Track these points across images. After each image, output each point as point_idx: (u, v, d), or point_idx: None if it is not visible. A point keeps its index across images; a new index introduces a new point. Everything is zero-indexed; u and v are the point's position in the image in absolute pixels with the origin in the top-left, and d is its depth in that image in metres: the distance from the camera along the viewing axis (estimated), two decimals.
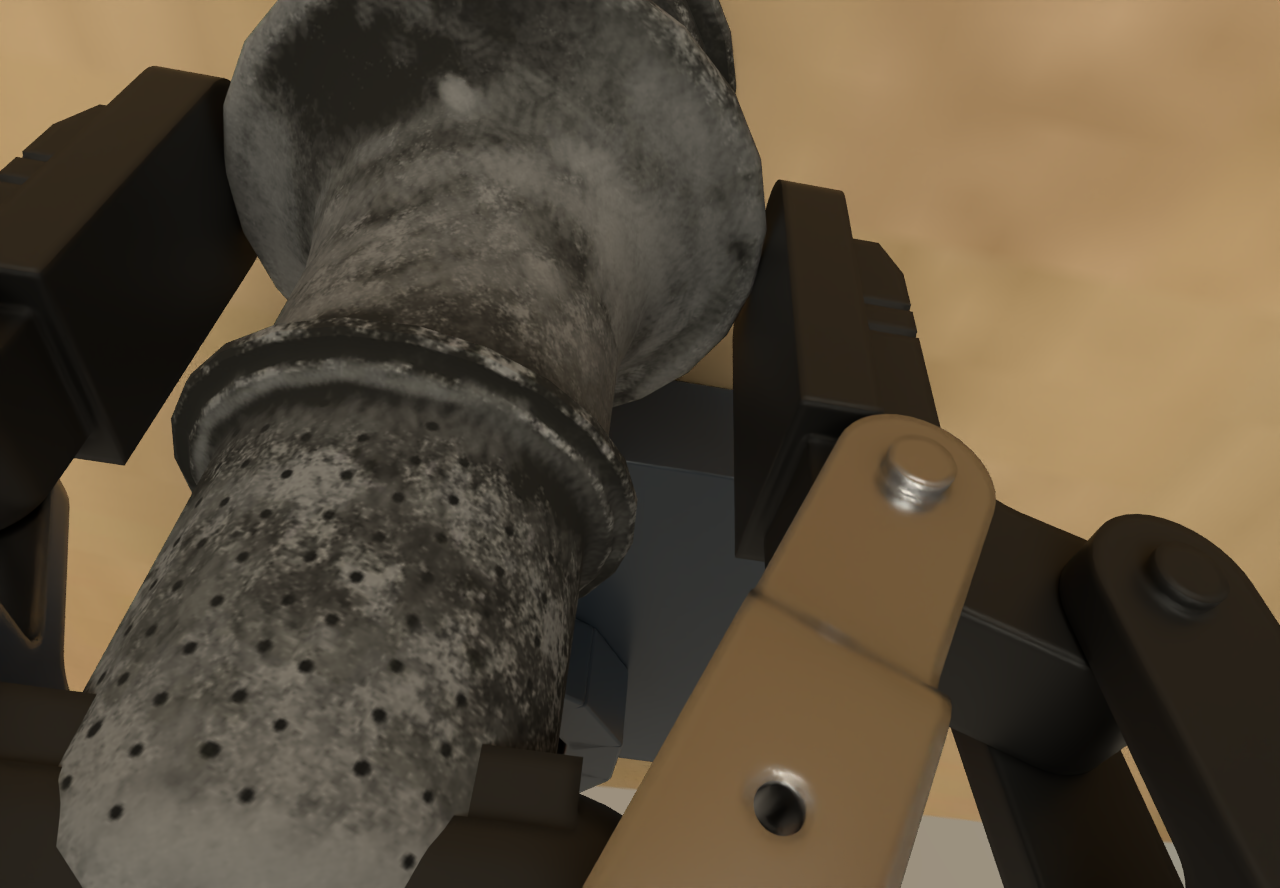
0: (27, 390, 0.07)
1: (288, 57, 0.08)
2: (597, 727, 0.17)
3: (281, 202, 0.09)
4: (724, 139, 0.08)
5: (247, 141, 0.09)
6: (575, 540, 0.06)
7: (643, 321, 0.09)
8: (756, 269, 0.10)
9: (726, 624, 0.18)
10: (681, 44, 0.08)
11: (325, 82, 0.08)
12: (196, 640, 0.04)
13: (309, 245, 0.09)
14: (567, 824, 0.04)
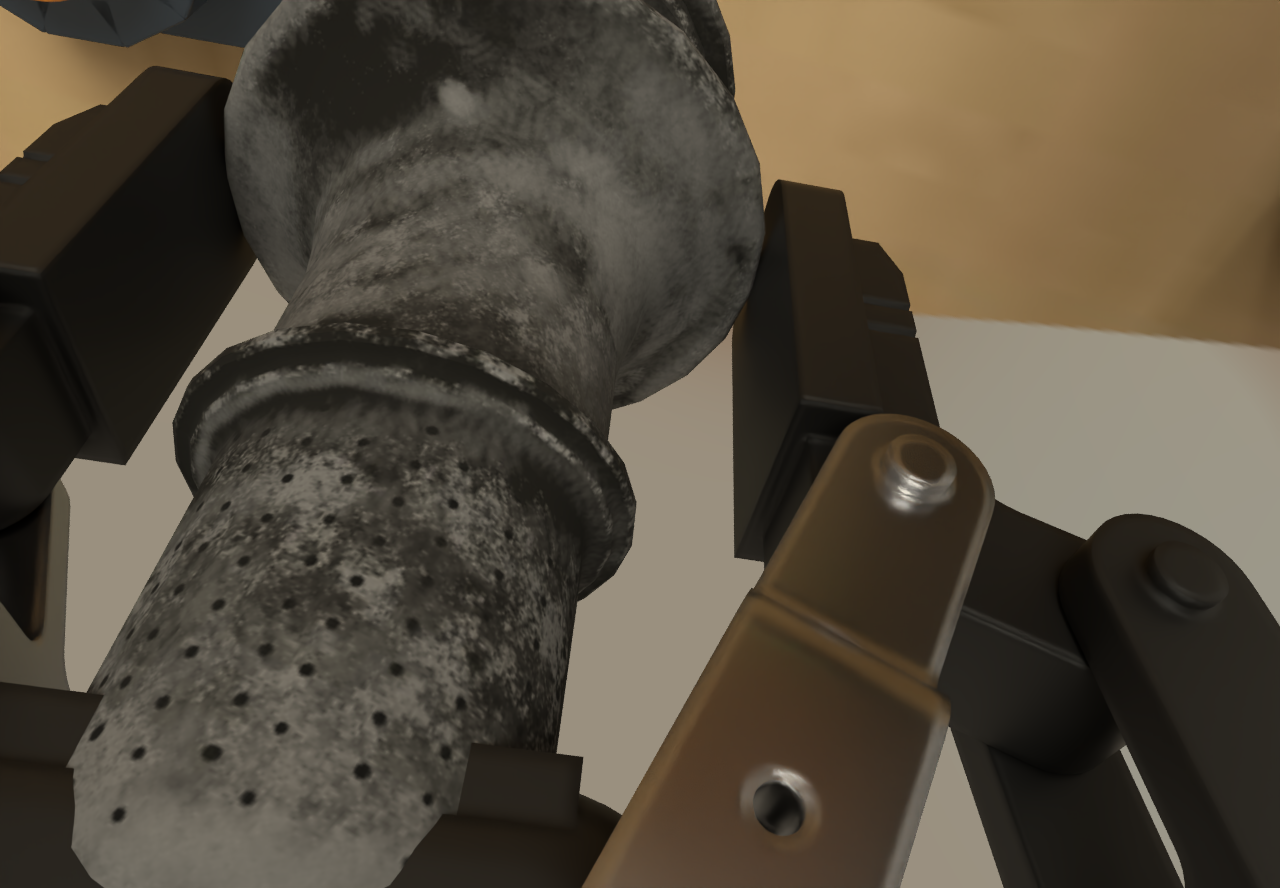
0: (28, 390, 0.07)
1: (289, 62, 0.08)
2: None
3: (282, 206, 0.09)
4: (723, 142, 0.08)
5: (249, 144, 0.09)
6: (574, 543, 0.06)
7: (642, 324, 0.09)
8: (755, 272, 0.10)
9: None
10: (680, 49, 0.08)
11: (326, 87, 0.08)
12: (197, 643, 0.04)
13: (310, 249, 0.09)
14: (567, 824, 0.04)
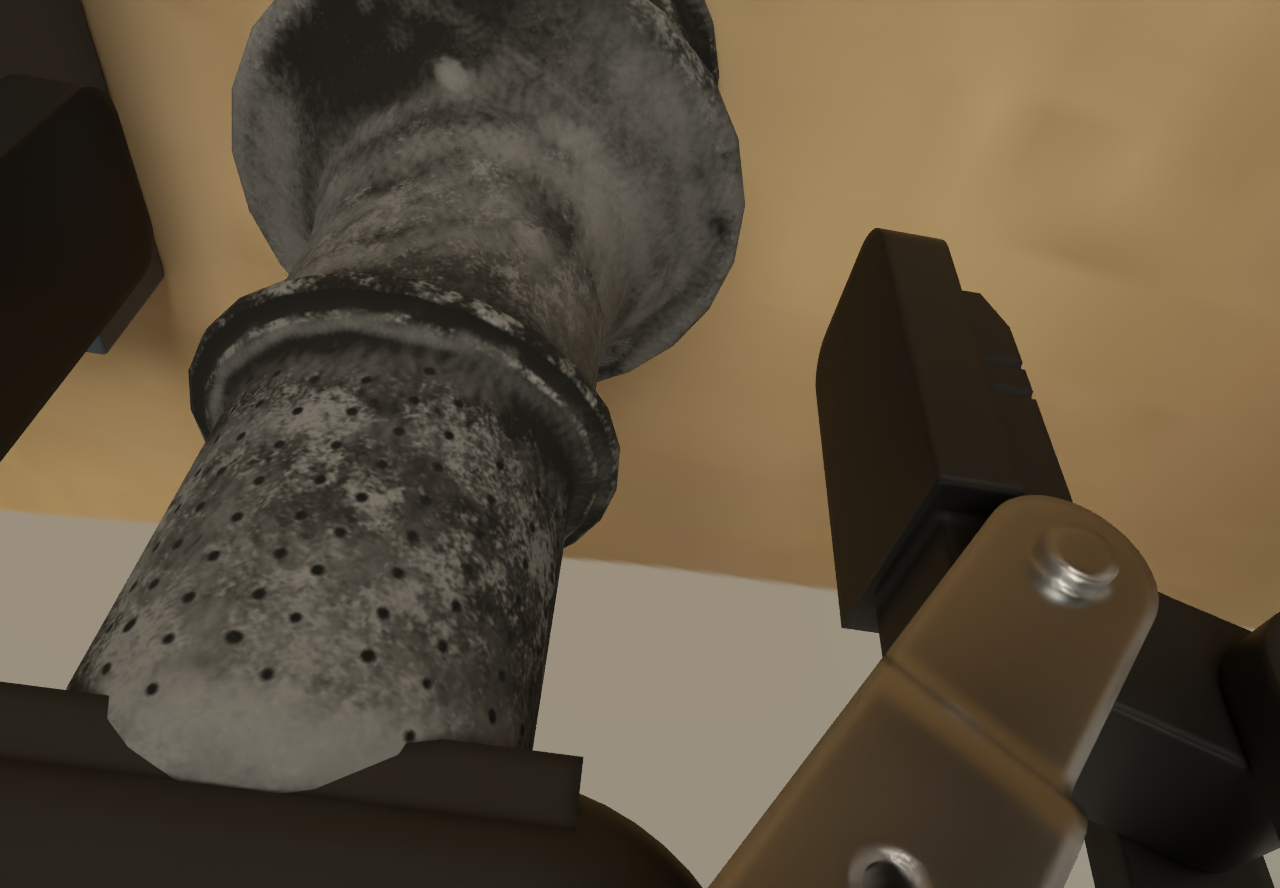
0: None
1: (293, 42, 0.09)
2: None
3: (286, 181, 0.09)
4: (704, 118, 0.09)
5: (255, 122, 0.09)
6: (561, 481, 0.07)
7: (629, 293, 0.10)
8: (736, 244, 0.10)
9: None
10: (661, 28, 0.08)
11: (328, 65, 0.08)
12: (219, 549, 0.05)
13: (313, 221, 0.09)
14: (567, 824, 0.04)
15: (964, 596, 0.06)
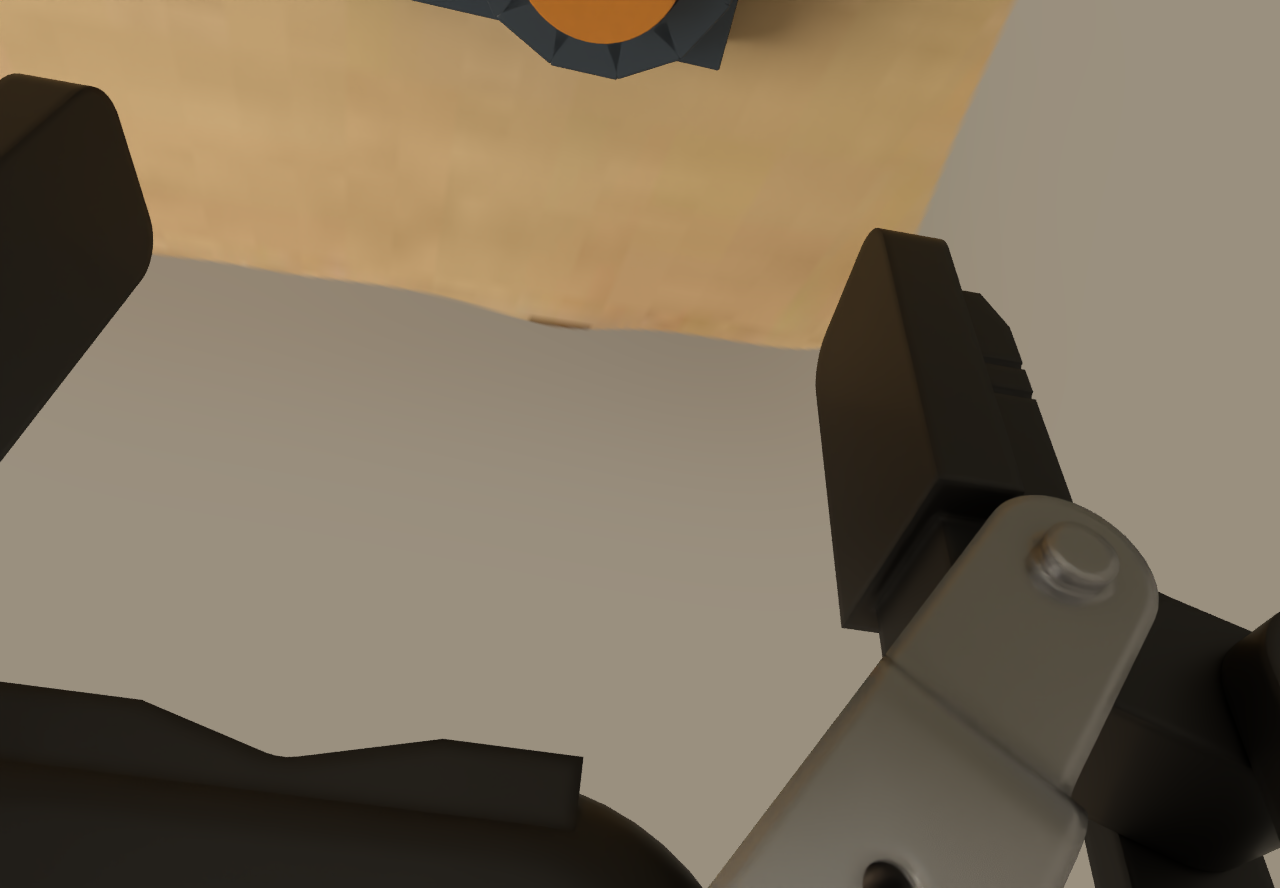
0: None
1: None
2: None
3: None
4: None
5: None
6: None
7: None
8: None
9: None
10: None
11: None
12: None
13: None
14: (567, 824, 0.04)
15: (964, 596, 0.06)
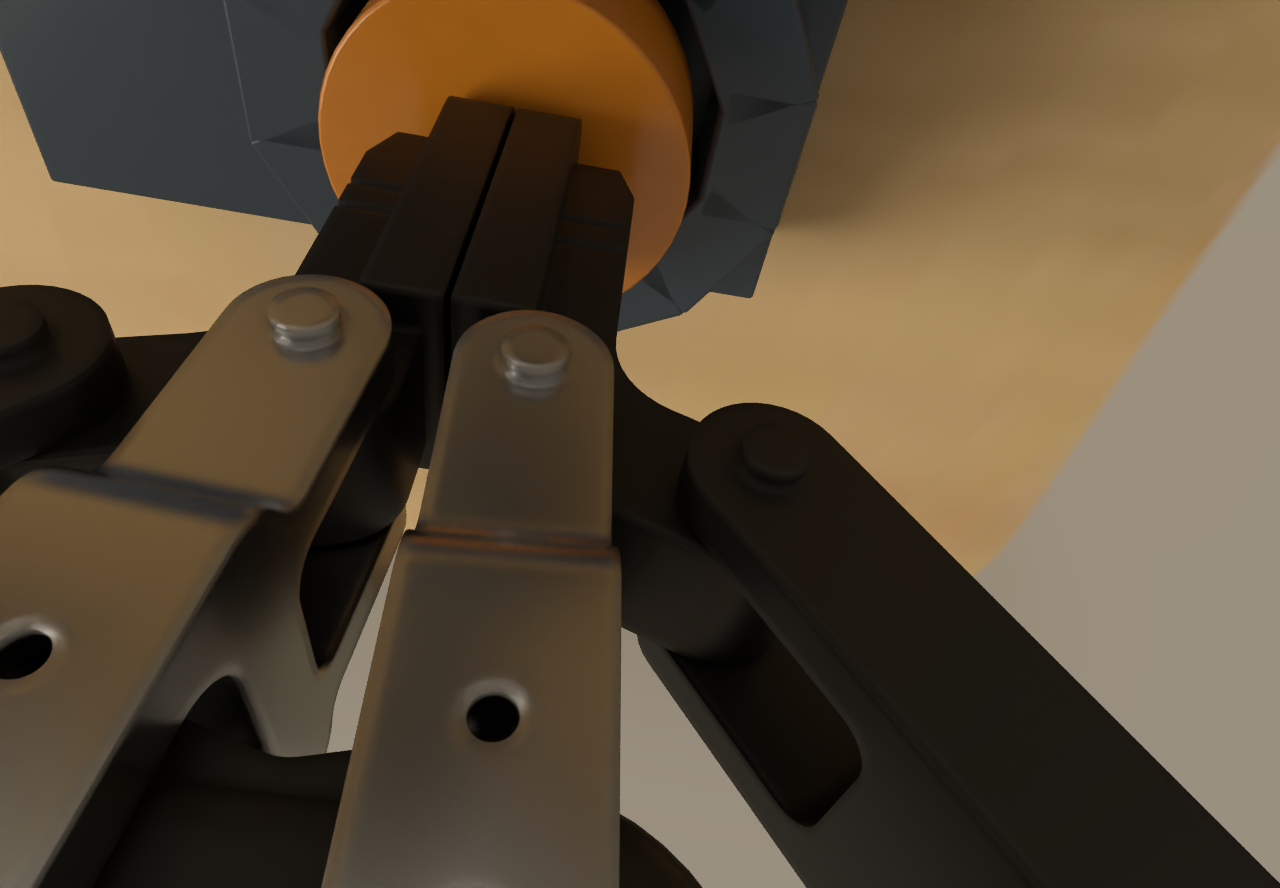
0: (412, 403, 0.07)
1: None
2: None
3: None
4: None
5: None
6: None
7: None
8: None
9: None
10: None
11: None
12: None
13: None
14: None
15: (462, 438, 0.06)
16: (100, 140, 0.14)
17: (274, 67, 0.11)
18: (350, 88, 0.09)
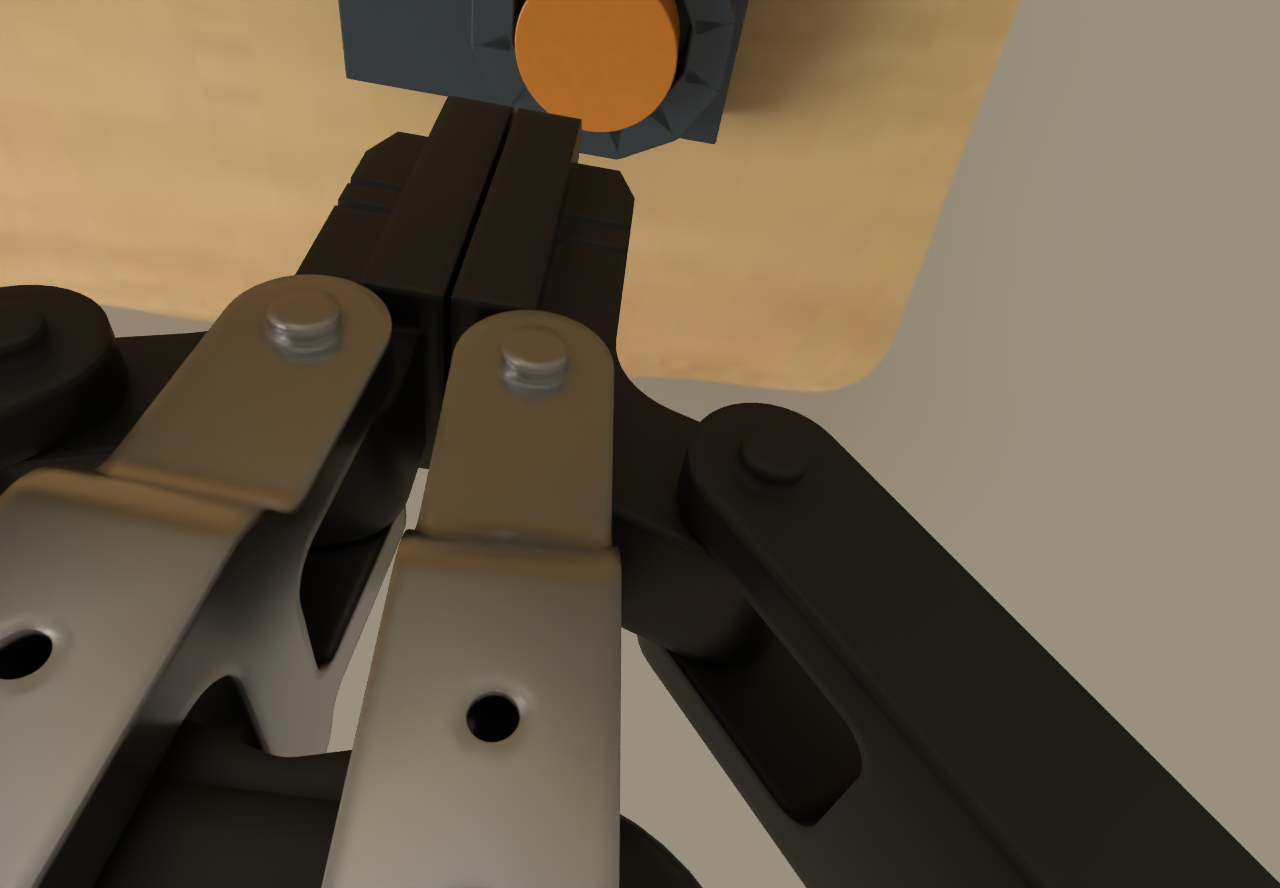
0: (412, 403, 0.07)
1: None
2: None
3: None
4: None
5: None
6: None
7: None
8: None
9: None
10: None
11: None
12: None
13: None
14: None
15: (461, 438, 0.06)
16: (378, 54, 0.26)
17: (489, 9, 0.23)
18: (532, 14, 0.22)
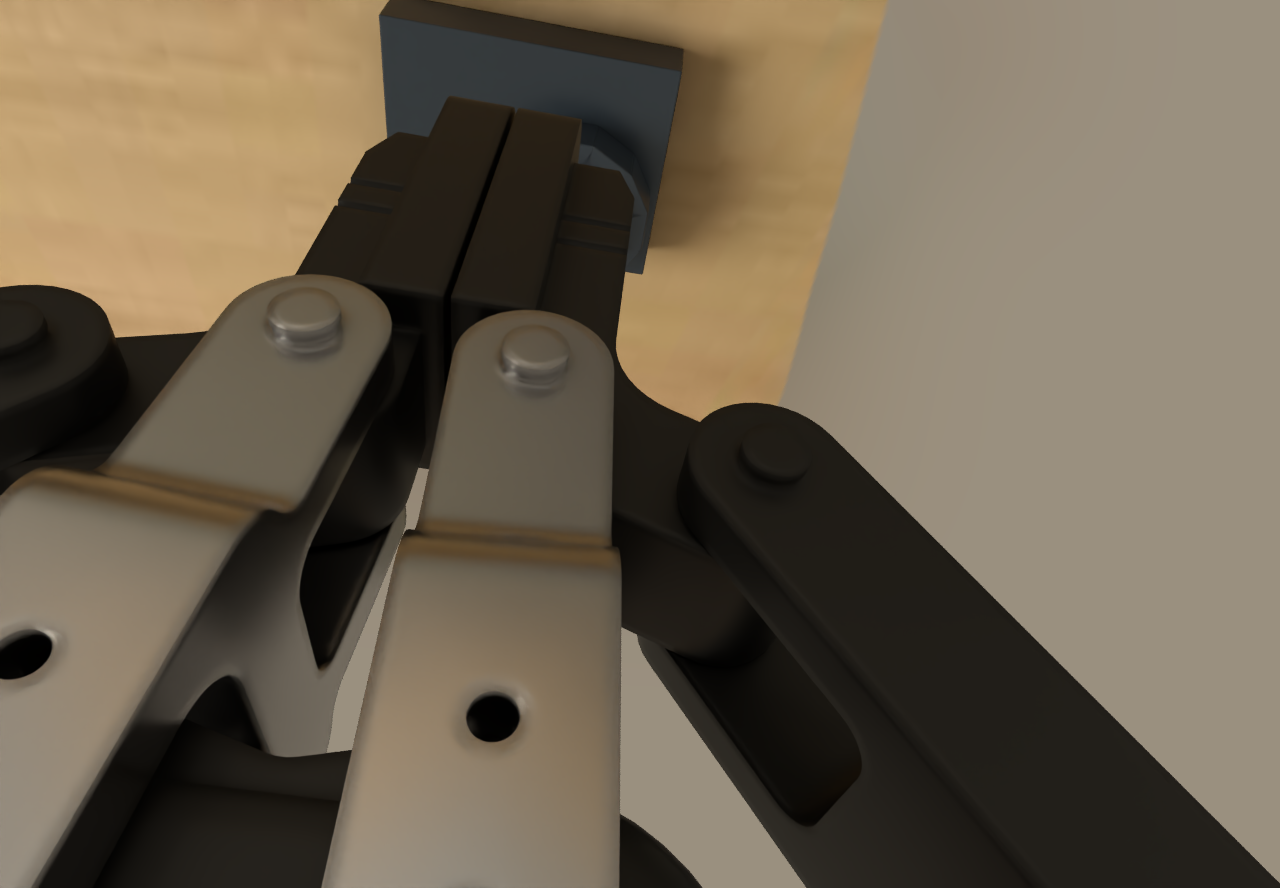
0: (411, 403, 0.07)
1: None
2: None
3: None
4: None
5: None
6: None
7: None
8: None
9: (494, 66, 0.34)
10: None
11: None
12: None
13: None
14: None
15: (461, 438, 0.06)
16: None
17: None
18: None
